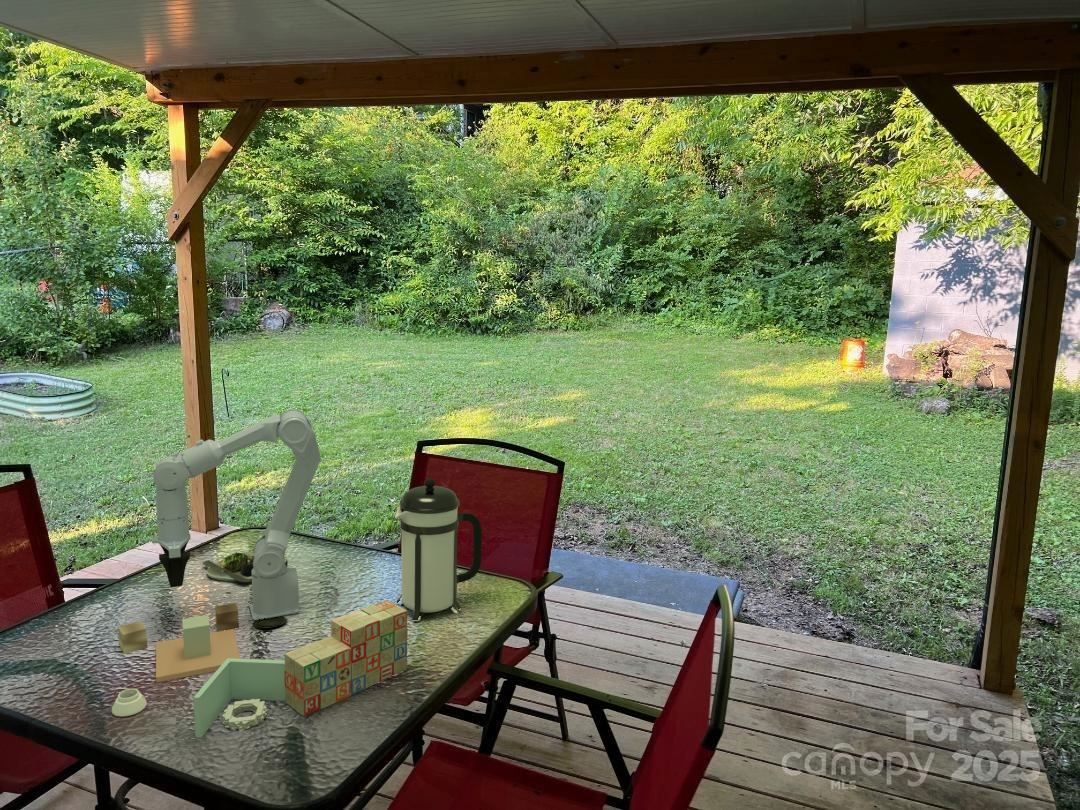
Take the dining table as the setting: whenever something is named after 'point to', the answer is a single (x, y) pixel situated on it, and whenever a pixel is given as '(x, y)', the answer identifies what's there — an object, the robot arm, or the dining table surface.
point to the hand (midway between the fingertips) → (176, 579)
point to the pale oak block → (132, 637)
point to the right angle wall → (239, 693)
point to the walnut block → (226, 617)
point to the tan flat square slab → (176, 667)
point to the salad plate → (233, 568)
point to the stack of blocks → (347, 658)
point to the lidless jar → (129, 703)
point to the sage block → (196, 637)
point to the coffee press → (433, 548)
